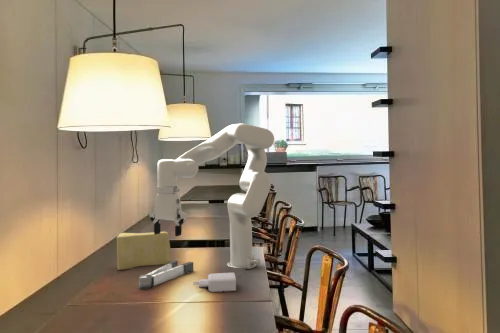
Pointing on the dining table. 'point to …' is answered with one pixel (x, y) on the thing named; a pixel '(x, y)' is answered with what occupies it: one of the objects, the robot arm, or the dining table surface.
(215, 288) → the charger
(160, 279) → the tongs leg
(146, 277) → the tongs hinge pin
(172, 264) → the tongs leg
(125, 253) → the cheese
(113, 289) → the dining table surface
